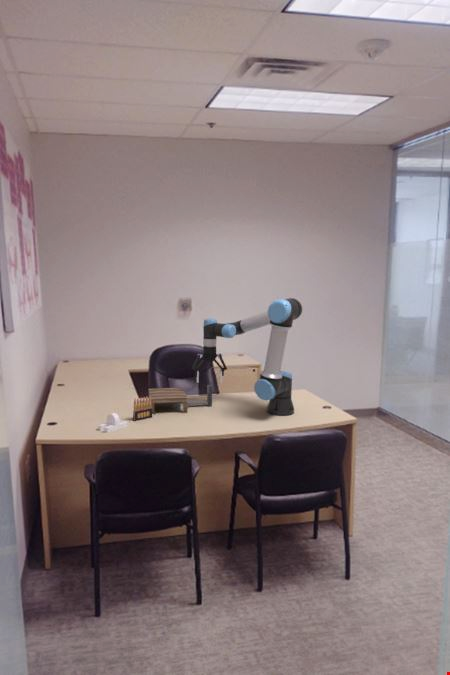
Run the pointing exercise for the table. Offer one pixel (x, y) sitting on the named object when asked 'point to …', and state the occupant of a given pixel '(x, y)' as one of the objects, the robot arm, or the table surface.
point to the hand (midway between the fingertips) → (209, 382)
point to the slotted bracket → (112, 423)
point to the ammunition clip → (142, 409)
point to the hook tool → (208, 402)
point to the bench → (168, 396)
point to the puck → (177, 406)
